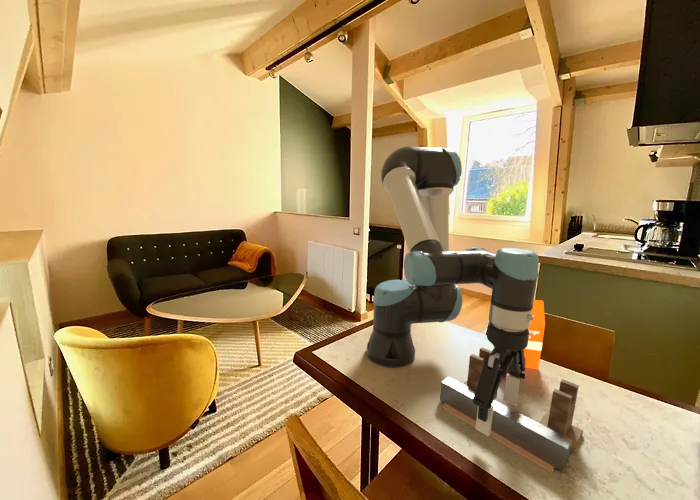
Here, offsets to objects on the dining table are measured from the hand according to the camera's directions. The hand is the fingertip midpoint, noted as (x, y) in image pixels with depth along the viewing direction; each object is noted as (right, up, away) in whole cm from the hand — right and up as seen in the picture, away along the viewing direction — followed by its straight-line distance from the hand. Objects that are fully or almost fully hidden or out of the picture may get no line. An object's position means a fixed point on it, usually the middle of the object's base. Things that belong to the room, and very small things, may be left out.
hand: (497, 416), depth 67 cm
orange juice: (+20, +2, +28) cm, 35 cm away
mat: (0, -3, +1) cm, 3 cm away
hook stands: (+7, -2, +6) cm, 10 cm away
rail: (0, -3, +1) cm, 3 cm away
